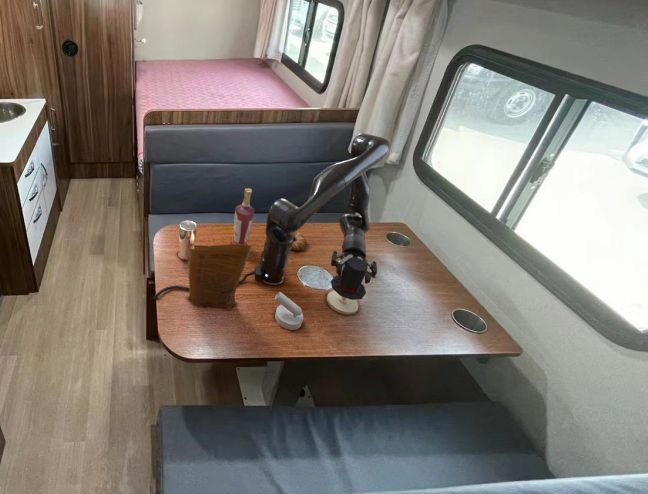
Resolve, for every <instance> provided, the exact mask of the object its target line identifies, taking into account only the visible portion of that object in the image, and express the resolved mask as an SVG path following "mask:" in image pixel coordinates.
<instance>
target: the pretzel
mask: <svg viewBox="0 0 648 494" xmlns="http://www.w3.org/2000/svg"><path fill="white" fill-rule="evenodd" d="M292 235H293V239H294V240H293V244H292V248H291V251H295V252H296V251H300V250H301V251H302V250H304V249H305V247H306V246H307V244H308V243H307V242H308V241H307V239H306V237H305V236H304V235H303V233H300V232H297V231H296V232H294V233H292Z"/></svg>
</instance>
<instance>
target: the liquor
mask: <svg viewBox="0 0 648 494" xmlns="http://www.w3.org/2000/svg"><path fill="white" fill-rule="evenodd" d="M252 192H253V189H252V188H249V187H245V188H244V193H243V200H242V203H241V204H238V205H237V206H235V210H234V218H233V219H234V220H233V230H232V231H233V232H232V240H231V241H230V245H248V239H249V235H250V231H251V228H252V224H253V219H254V215H255V212H256V211H255V208H254V207H252V206H251V196H252Z"/></svg>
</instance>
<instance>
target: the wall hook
mask: <svg viewBox="0 0 648 494" xmlns="http://www.w3.org/2000/svg"><path fill="white" fill-rule="evenodd" d="M274 301H276V302H277V303H279V304H280V305H278V306H277V307H276V310H275V314H274V319H275V321H276V323H277V324H278V326H280V327H282V328H283V329H285V330H289V331H290V330H291V331H295V330H299V328H301V327H302V324H303V321H304V314H303V310H302V308H301V307H300V306H299V305H298V304H296V303H295V302H294V301H292V299H290V298H289V297H287V296H286V295H285V294H283V292H281V291H279V292H278V293H276V295H275V297H274Z"/></svg>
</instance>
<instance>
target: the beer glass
mask: <svg viewBox="0 0 648 494" xmlns="http://www.w3.org/2000/svg"><path fill="white" fill-rule="evenodd" d="M197 227H198V226H197V223H196V222H194V221H193V220H183V221H181V222H180V223H179V228H178V244H179V249H178V254H177V255H178V257H179V259H181V260H182V261H183V260H184V261H189V251H190V248H194V245H195V243H196V241H197V232H198V231H197V229H198V228H197Z"/></svg>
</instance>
